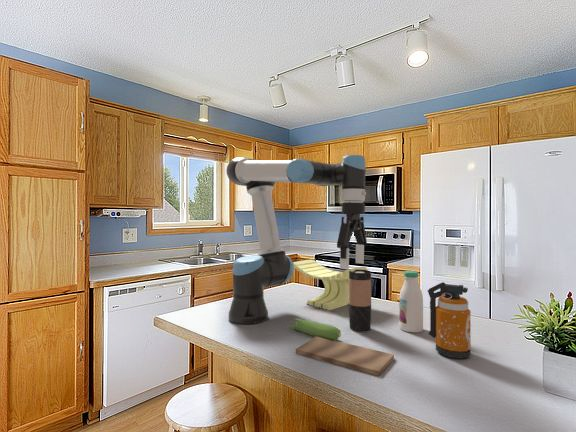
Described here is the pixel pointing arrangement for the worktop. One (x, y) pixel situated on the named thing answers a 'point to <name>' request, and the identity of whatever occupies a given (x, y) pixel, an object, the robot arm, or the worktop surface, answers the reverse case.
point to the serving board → (346, 355)
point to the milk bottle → (411, 304)
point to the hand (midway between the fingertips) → (352, 266)
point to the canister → (450, 320)
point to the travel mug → (360, 300)
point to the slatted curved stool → (327, 284)
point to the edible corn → (317, 329)
